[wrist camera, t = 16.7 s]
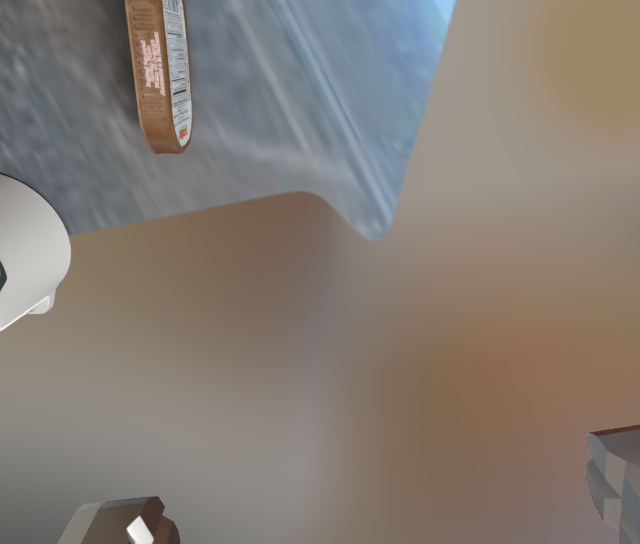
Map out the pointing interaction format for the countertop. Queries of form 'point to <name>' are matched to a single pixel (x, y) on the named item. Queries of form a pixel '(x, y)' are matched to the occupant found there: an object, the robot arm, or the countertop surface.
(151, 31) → the tin
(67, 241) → the robot arm
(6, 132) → the countertop surface
